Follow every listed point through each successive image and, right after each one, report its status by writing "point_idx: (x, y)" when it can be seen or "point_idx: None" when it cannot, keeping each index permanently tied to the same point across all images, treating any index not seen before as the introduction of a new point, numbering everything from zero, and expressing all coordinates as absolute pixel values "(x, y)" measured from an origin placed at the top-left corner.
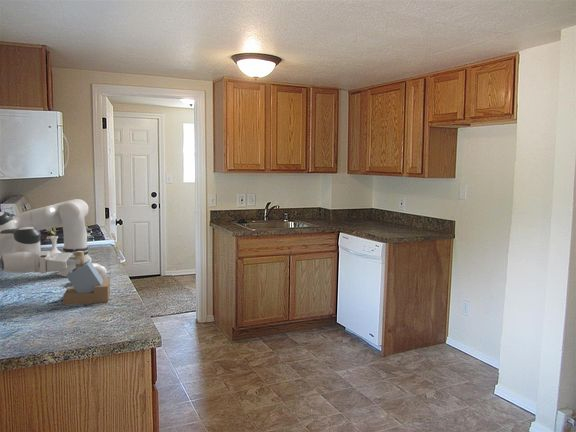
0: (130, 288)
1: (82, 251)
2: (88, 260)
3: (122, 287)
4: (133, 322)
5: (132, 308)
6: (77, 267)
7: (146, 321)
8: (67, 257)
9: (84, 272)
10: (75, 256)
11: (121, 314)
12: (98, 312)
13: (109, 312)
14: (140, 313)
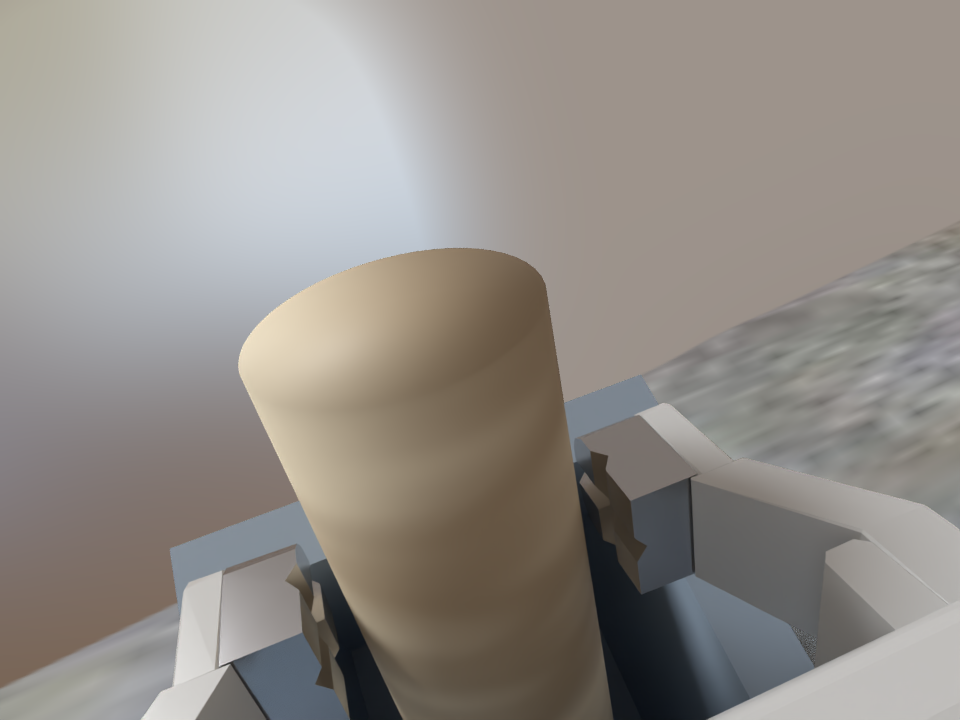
0: (160, 615)
1: (365, 278)
2: (196, 565)
3: (90, 702)
4: (937, 291)
5: (706, 386)
6: (601, 669)
7: (878, 268)
8: (824, 699)
9: None
10: (533, 496)
11: (856, 378)
12: (926, 505)
13: (869, 445)
14: (776, 326)
